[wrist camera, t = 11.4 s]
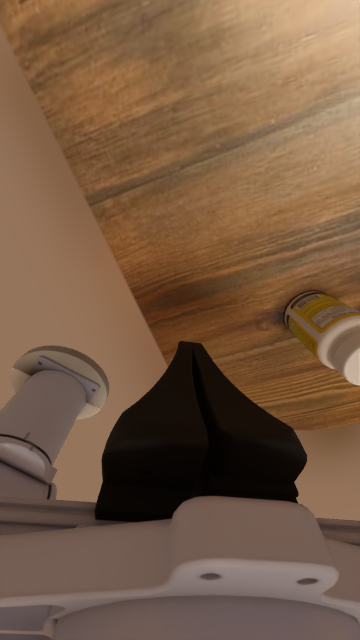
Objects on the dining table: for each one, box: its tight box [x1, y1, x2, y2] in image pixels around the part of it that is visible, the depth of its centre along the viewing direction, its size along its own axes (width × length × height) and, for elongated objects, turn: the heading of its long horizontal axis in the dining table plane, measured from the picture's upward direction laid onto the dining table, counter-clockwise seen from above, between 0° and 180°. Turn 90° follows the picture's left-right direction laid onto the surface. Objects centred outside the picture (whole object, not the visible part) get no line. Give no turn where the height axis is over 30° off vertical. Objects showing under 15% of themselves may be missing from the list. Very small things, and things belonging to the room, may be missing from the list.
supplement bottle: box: [285, 291, 360, 385], centre depth 18 cm, size 5×5×8 cm
